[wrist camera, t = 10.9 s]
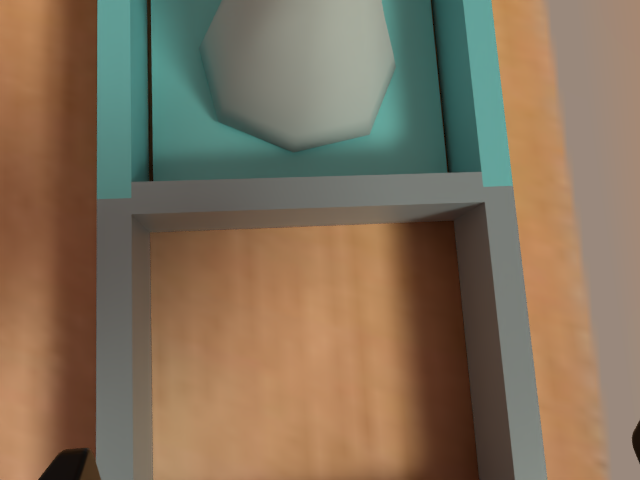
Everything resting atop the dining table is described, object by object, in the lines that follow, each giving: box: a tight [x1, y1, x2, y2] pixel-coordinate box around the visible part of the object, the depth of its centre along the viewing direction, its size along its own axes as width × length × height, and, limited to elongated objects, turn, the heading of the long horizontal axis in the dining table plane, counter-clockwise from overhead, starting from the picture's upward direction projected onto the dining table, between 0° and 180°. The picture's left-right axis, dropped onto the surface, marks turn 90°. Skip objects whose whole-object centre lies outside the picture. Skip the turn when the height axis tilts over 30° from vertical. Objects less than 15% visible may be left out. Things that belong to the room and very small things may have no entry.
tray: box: [96, 0, 547, 480], centre depth 19 cm, size 25×13×3 cm, turn 3°
